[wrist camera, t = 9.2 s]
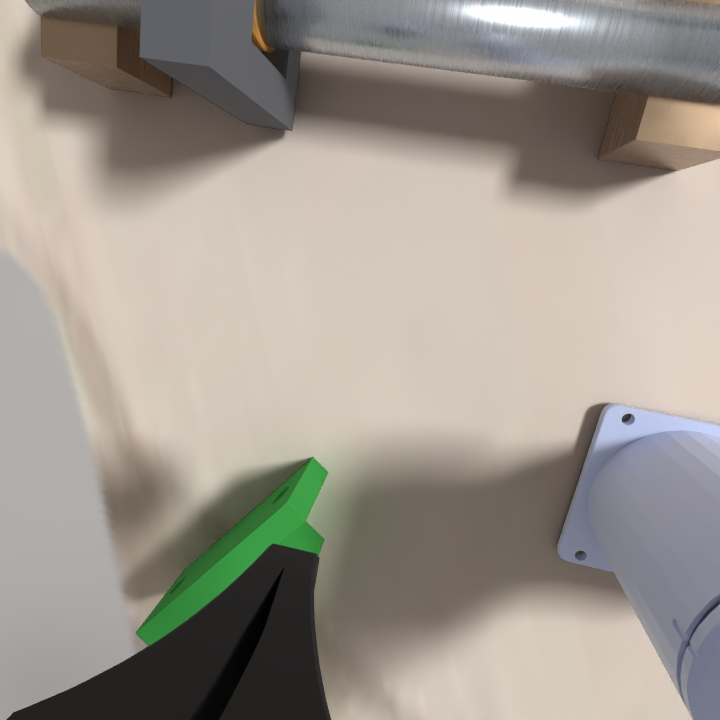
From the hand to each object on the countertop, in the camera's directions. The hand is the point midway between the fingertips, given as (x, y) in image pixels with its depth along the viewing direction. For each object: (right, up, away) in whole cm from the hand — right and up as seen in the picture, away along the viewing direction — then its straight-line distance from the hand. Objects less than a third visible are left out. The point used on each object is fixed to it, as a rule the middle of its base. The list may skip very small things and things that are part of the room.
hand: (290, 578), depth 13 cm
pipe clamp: (-3, -4, +13) cm, 14 cm away
